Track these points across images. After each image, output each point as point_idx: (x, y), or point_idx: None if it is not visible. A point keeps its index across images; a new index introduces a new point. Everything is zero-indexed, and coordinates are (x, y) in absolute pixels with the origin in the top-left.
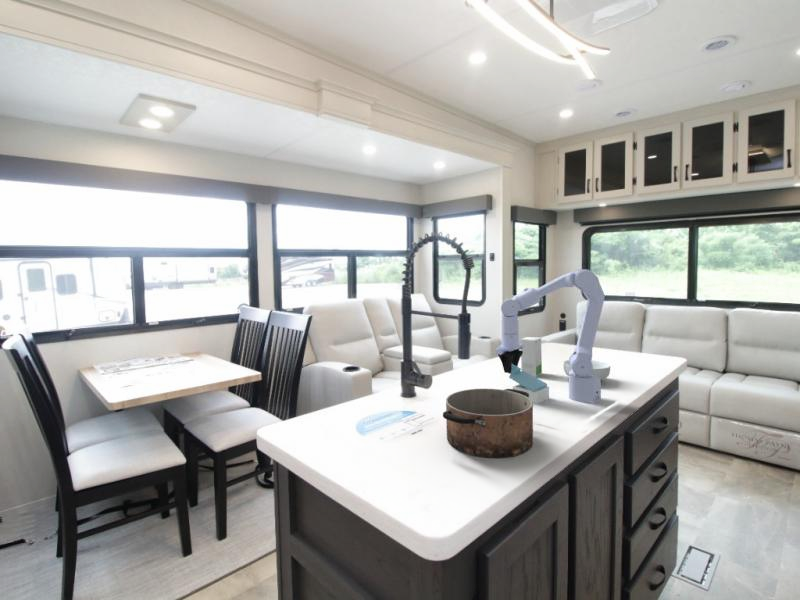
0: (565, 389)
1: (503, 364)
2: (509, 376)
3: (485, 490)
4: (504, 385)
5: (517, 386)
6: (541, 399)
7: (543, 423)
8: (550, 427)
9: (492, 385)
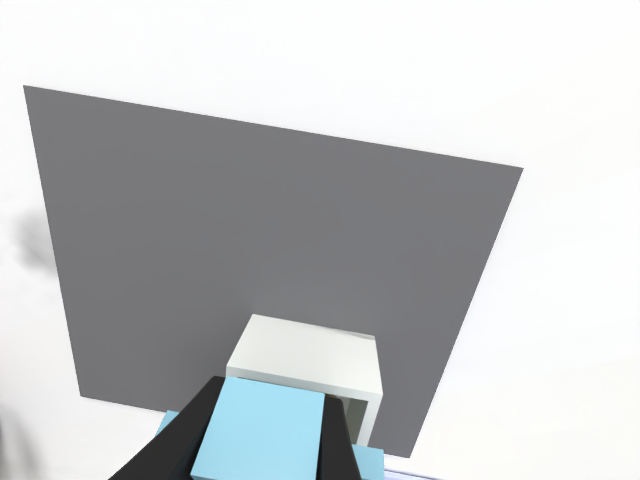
0: (570, 448)
1: (147, 461)
2: (161, 423)
3: None
4: (538, 151)
5: (267, 377)
6: None
7: (106, 457)
8: (94, 475)
9: (503, 64)
